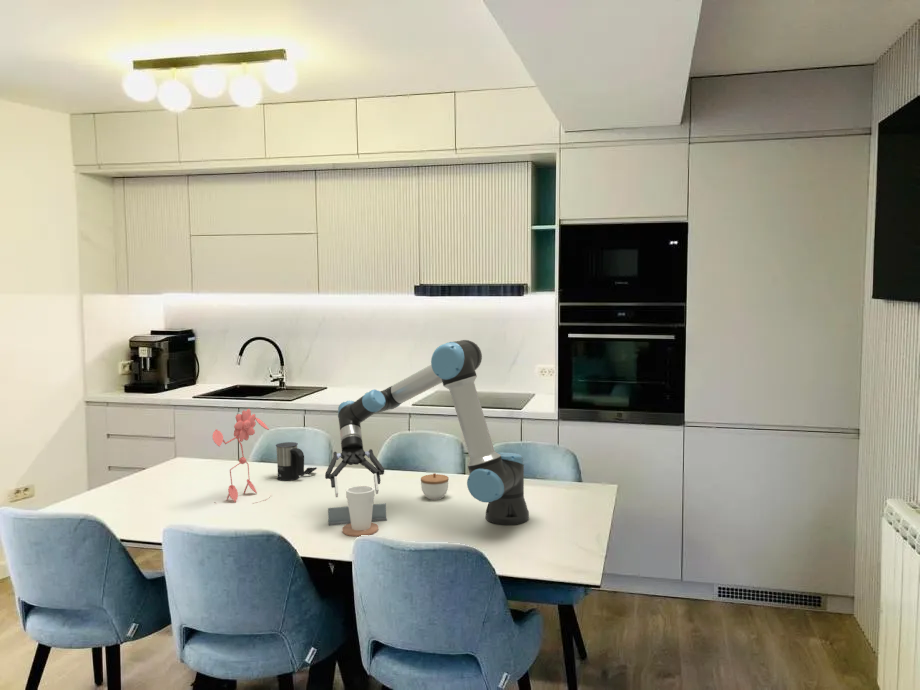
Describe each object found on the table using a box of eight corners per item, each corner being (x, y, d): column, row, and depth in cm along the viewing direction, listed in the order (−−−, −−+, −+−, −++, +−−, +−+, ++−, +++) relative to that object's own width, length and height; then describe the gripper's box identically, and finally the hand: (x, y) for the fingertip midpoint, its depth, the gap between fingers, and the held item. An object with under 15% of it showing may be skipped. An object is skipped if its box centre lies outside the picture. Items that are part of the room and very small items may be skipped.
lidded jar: (415, 499, 288) (415, 475, 287) (429, 492, 297) (429, 468, 297) (440, 502, 283) (439, 478, 282) (453, 495, 292) (453, 471, 292)
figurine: (208, 505, 284) (206, 413, 280) (256, 488, 307) (255, 403, 303) (239, 511, 277) (237, 417, 273) (286, 493, 300) (284, 406, 296)
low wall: (385, 516, 267) (384, 502, 267) (386, 520, 263) (386, 505, 263) (328, 521, 262) (327, 506, 262) (328, 525, 259) (328, 510, 258)
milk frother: (272, 480, 318) (271, 445, 317) (292, 471, 333) (291, 438, 332) (302, 482, 314) (301, 447, 313) (320, 473, 329) (319, 439, 328)
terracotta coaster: (385, 529, 254) (385, 526, 254) (360, 538, 245) (360, 535, 245) (360, 522, 261) (360, 519, 261) (334, 531, 252) (334, 528, 252)
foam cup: (361, 521, 260) (360, 484, 259) (381, 526, 254) (380, 488, 253) (341, 528, 252) (340, 490, 251) (360, 533, 247) (359, 495, 245)
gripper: (385, 444, 274) (392, 496, 261) (315, 448, 268) (319, 502, 255) (387, 432, 268) (394, 485, 255) (316, 437, 262) (319, 491, 249)
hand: (357, 493), depth 255 cm, fingers open, 13 cm apart
